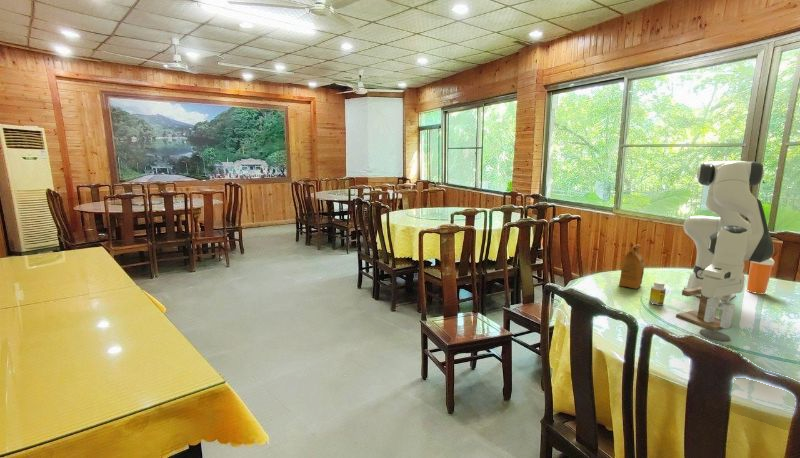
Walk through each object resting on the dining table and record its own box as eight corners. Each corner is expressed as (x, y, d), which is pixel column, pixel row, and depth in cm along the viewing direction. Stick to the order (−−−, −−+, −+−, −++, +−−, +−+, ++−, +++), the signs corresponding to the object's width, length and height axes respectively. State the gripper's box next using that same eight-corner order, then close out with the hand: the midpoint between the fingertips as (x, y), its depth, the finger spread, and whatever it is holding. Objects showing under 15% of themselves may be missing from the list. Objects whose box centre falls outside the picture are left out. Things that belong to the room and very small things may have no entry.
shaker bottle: (748, 293, 197) (756, 255, 193) (741, 288, 205) (748, 251, 201) (771, 296, 193) (779, 257, 190) (762, 290, 201) (770, 253, 198)
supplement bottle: (659, 307, 174) (663, 285, 172) (646, 303, 179) (649, 281, 177) (665, 304, 177) (669, 283, 176) (652, 300, 182) (655, 280, 180)
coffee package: (645, 286, 204) (651, 245, 200) (637, 291, 195) (643, 248, 191) (624, 281, 211) (629, 241, 207) (615, 285, 203) (621, 245, 199)
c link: (709, 319, 149) (713, 297, 148) (730, 327, 143) (734, 304, 141) (703, 320, 148) (707, 299, 146) (724, 328, 142) (729, 305, 140)
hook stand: (693, 312, 168) (699, 276, 165) (730, 325, 156) (738, 286, 153) (661, 319, 160) (667, 281, 157) (698, 334, 147) (705, 293, 144)
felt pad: (708, 329, 152) (708, 327, 152) (735, 339, 144) (735, 337, 144) (694, 332, 149) (694, 331, 149) (720, 343, 141) (721, 341, 140)
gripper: (732, 265, 149) (726, 299, 151) (700, 270, 141) (694, 306, 143) (752, 270, 143) (745, 305, 146) (720, 275, 135) (713, 312, 137)
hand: (719, 306), depth 144 cm, fingers closed on c link, 3 cm apart
